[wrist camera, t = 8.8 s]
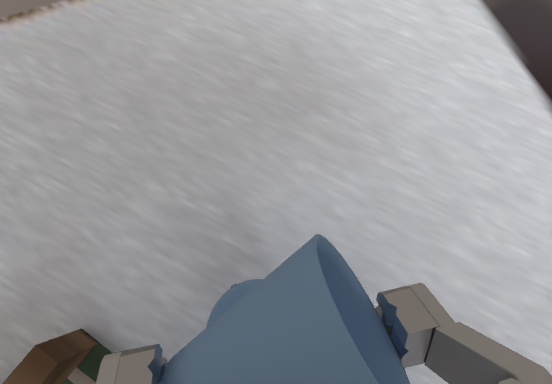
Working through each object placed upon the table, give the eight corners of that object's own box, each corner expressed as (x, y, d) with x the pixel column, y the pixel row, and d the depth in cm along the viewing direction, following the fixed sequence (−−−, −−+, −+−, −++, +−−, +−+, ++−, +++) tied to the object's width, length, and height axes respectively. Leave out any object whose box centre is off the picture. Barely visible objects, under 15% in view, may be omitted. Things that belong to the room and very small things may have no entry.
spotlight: (299, 242, 17) (175, 314, 15) (378, 199, 7) (64, 383, 6) (351, 330, 16) (225, 416, 15) (517, 417, 6) (192, 692, 5)
